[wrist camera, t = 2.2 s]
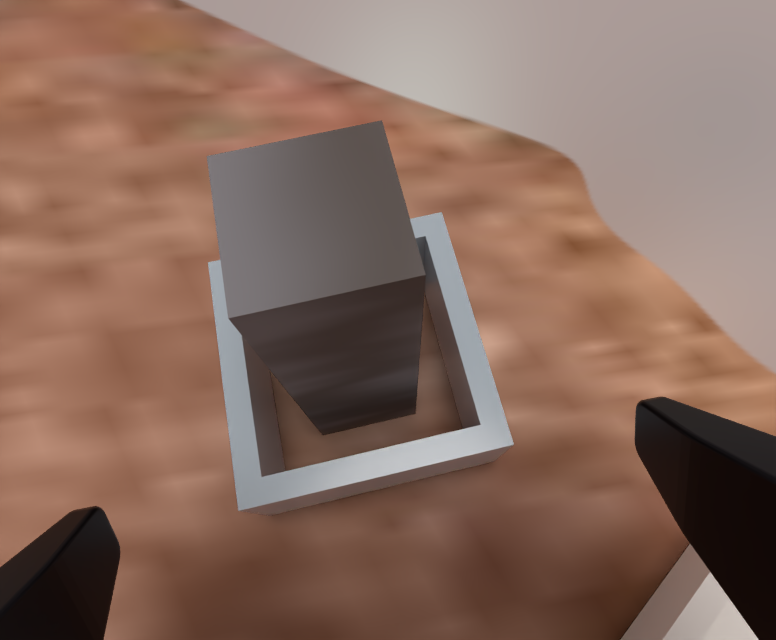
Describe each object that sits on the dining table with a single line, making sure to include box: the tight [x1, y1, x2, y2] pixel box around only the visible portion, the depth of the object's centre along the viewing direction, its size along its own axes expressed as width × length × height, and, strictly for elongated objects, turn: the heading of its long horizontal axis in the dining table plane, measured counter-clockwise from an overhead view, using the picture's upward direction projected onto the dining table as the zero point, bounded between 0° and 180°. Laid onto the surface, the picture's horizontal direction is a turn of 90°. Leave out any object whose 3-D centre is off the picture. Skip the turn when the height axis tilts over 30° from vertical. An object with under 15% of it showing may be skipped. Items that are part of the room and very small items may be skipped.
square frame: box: [208, 212, 514, 516], centre depth 20 cm, size 8×8×4 cm
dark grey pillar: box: [207, 121, 426, 435], centre depth 16 cm, size 4×4×12 cm
